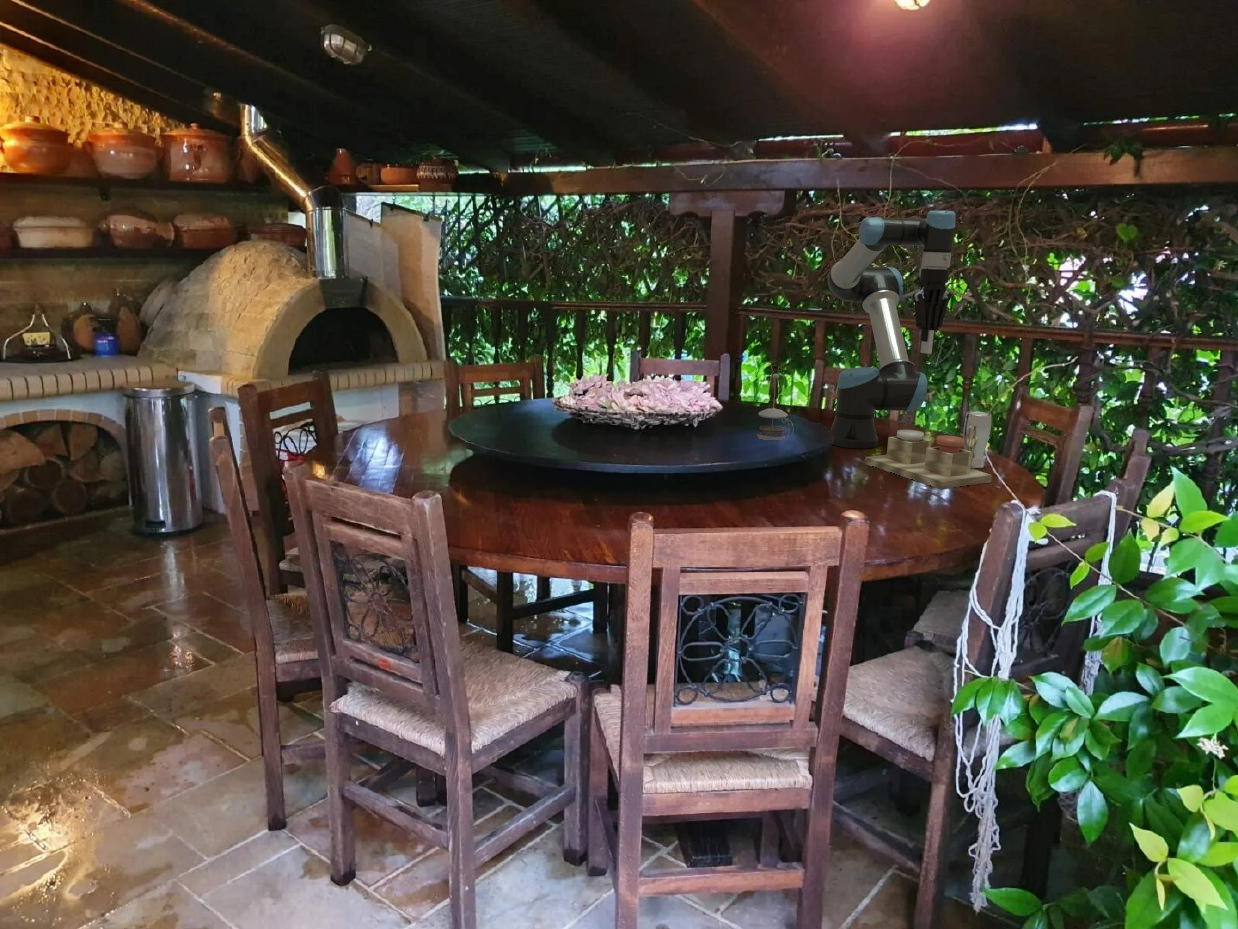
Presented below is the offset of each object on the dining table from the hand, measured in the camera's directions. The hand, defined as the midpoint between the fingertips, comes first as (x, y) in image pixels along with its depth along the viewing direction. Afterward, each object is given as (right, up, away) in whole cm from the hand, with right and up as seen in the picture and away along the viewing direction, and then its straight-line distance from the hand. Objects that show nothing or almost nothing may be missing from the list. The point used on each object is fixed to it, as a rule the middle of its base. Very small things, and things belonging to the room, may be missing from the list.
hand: (925, 352), depth 251 cm
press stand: (-4, -34, -12) cm, 36 cm away
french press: (-44, -31, -4) cm, 54 cm away
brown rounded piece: (-1, -32, -19) cm, 37 cm away
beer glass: (+12, -32, -2) cm, 35 cm away
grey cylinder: (-7, -30, -6) cm, 31 cm away
